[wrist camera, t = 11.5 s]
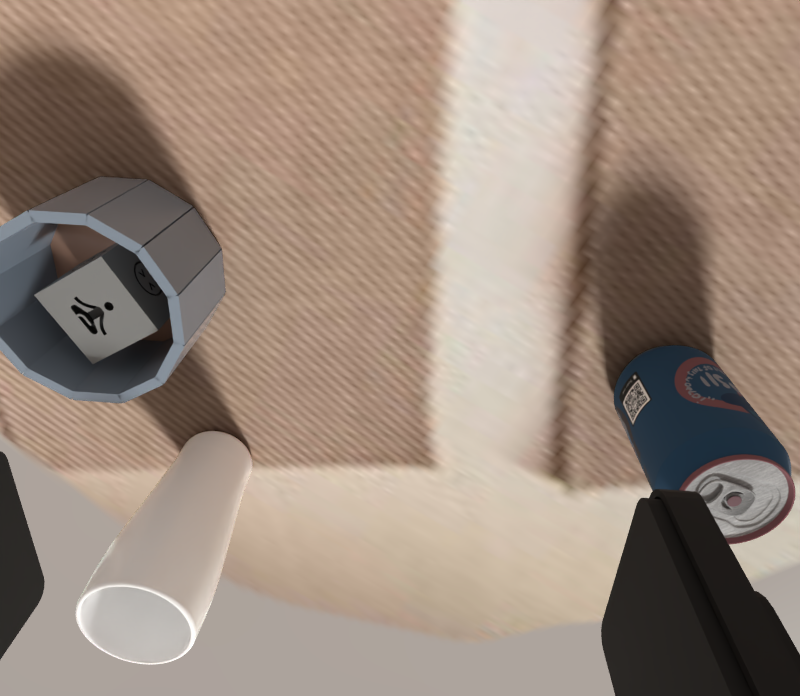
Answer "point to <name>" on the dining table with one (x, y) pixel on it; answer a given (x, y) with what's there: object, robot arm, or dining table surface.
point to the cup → (80, 240)
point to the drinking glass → (168, 556)
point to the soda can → (704, 440)
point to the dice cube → (106, 302)
